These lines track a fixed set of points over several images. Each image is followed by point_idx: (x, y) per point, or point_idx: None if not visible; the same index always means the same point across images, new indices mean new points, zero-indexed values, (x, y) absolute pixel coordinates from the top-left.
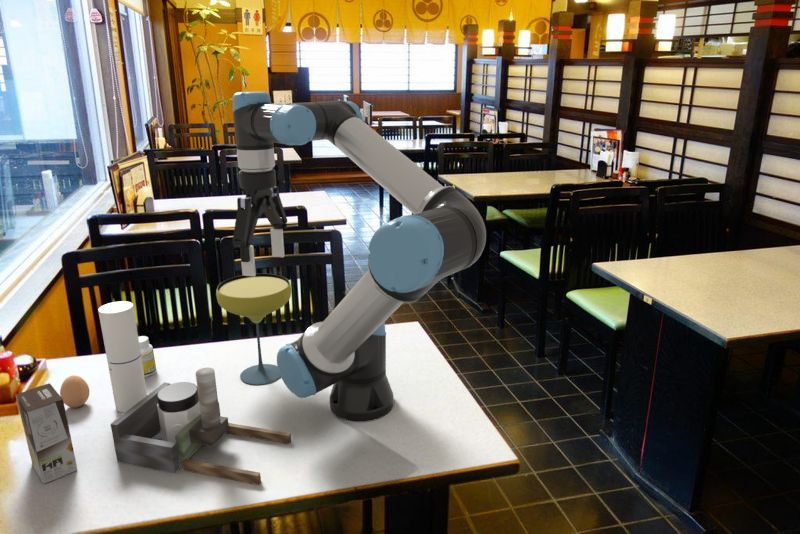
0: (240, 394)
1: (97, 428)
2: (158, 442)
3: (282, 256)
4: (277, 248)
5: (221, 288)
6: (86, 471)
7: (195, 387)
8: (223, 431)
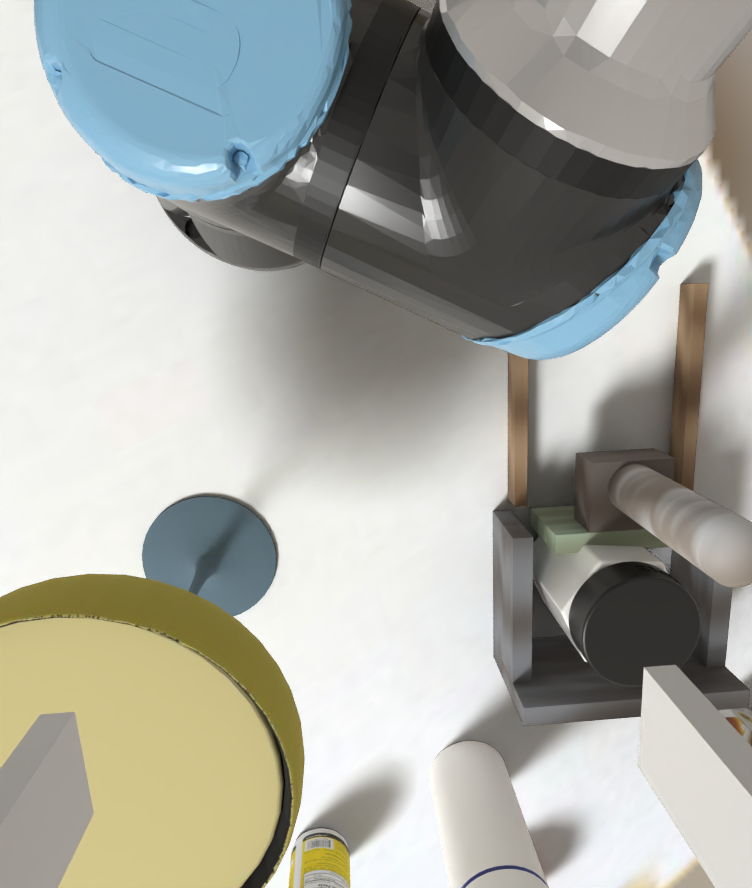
0: (335, 553)
1: (578, 770)
2: None
3: (72, 723)
4: (40, 838)
5: None
6: None
7: (609, 598)
8: (608, 454)
